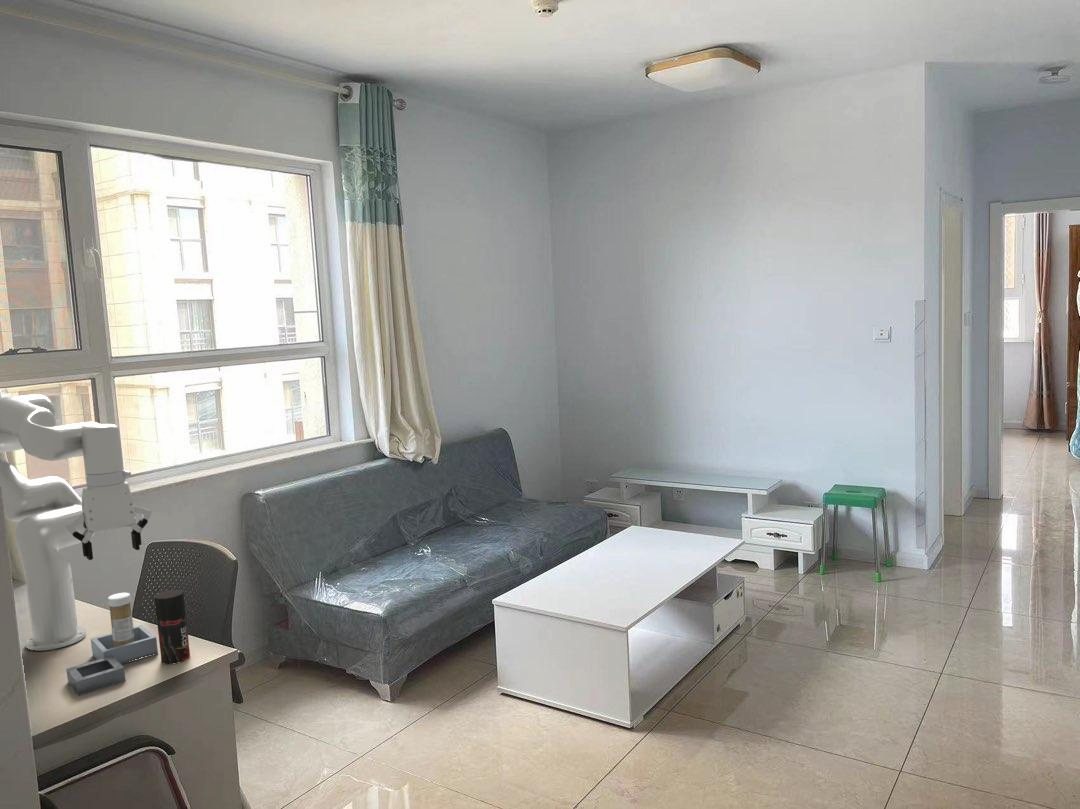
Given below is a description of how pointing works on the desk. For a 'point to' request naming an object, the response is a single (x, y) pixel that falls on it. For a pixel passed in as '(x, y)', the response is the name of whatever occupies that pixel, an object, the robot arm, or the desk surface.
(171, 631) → the deodorant
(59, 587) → the robot arm
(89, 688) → the socket collar
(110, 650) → the bin
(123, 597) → the sprinkles bottle
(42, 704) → the desk surface
